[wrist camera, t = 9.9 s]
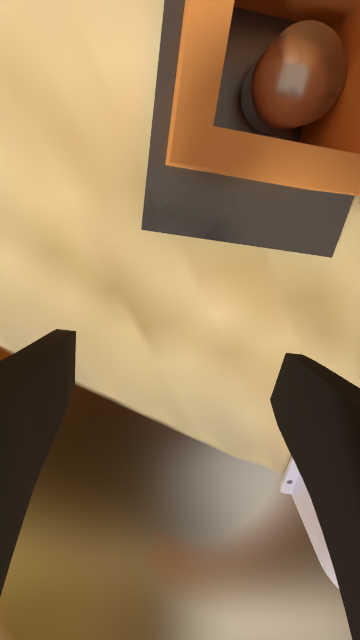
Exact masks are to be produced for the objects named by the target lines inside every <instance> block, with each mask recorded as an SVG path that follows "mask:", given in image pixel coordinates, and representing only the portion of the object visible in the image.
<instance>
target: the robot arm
mask: <svg viewBox="0 0 360 640" xmlns="http://www.w3.org/2000/svg"><path fill="white" fill-rule="evenodd" d="M75 351H76V331H69V330H59V329H56V330H54V331H52V332H50V333H49V334H47V335H45V336H43V337H42V338H40V339H38V340H37V341H35V342H33V343H32V344H30V345H28V346H27V347H25V348H23V349H21V350H20V351H18V352H16V353H14V354H13V355H11V356H9V357H7V358H5V359H3V360H1V361H0V596H1V592H2V589H3V586H4V582H5V579H6V575H7V572H8V569H9V565H10V562H11V559H12V555H13V552H14V549H15V545H16V542H17V539H18V536H19V533H20V530H21V526H22V523H23V519H24V517H25V514H26V511H27V507H28V505H29V501H30V498H31V495H32V492H33V489H34V486H35V483H36V481H37V478H38V476H39V473H40V471H41V468H42V466H43V464H44V462H45V459H46V457H47V455H48V453H49V450H50V448H51V446H52V444H53V441H54V439H55V437H56V434H57V432H58V430H59V427H60V425H61V423H62V421H63V418H64V416H65V414H66V411H67V409H68V405H69V402H70V399H71V395H72V391H73V388H74V384H75ZM270 401H271V404H272V408H273V412H274V415H275V418H276V421H277V425H278V427H279V429H280V432H281V434H282V436H283V438H284V440H285V443H286V445H287V447H288V449H289V451H290V453H291V456H292V457H291V459H290V462H289V464H288V467H287V469H286V472H285V474H284V476H283V479H282V482H281V484H280V486H279V488H280V491H281V492H282V493H284V494H292V497H293V499H294V502H295V504H296V506H297V509H298V511H299V513H300V516H301V518H302V521H303V523H304V525H305V528H306V530H307V533H308V535H309V537H310V539H311V542H312V544H313V547H314V549H315V552H316V554H317V556H318V559H319V561H320V563H321V565H322V567H323V569H324V571H325V572H326V574H327V575H328V577H329V578H330V579H331V581H332V582H333V583H334V584H335V585H336V586H337V587H338V588H339V590H340V593H341V596H342V600H343V604H344V607H345V611H346V615H347V619H348V623H349V627H350V632H351V636H352V640H360V388H359V387H357V386H355V385H354V384H352V383H350V382H349V381H347V380H345V379H344V378H342V377H341V376H339V375H337V374H336V373H334V372H333V371H331V370H329V369H328V368H326V367H324V366H323V365H321V364H319V363H318V362H316V361H314V360H312V359H310V358H308V357H306V356H304V355H301V354H291V353H286V354H285V357H284V360H283V363H282V366H281V369H280V372H279V375H278V378H277V381H276V384H275V387H274V390H273V393H272V396H271V399H270Z"/></svg>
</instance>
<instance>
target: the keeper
mask: <svg viewBox="0 0 360 640" xmlns="http://www.w3.org/2000/svg"><path fill="white" fill-rule="evenodd" d="M184 7H185V0H165V3H164V13H163V22H162V32H161V42H160V52H159V62H158V71H157V81H156V91H155V101H154V111H153V120H152V130H151V140H150V150H149V160H148V169H147V179H146V189H145V199H144V209H143V219H142V228H141V230H147V231H154V232H161V233H168V234H175V235H181V236H188V237H195V238H202V239H209V240H216V241H222V242H229V243H236V244H243V245H250V246H257V247H264V248H270V249H277V250H284V251H291V252H298V253H305V254H311V255H318V256H325V257H332V256H333V253H334V251H335V248H336V245H337V242H338V239H339V237H340V234H341V231H342V228H343V225H344V222H345V220H346V217H347V214H348V211H349V208H350V206H351V203H352V200H353V197H354V195H348V194H339V193H331V192H323V191H314V190H307V189H301V188H295V187H289V186H284V185H278V184H272V183H266V182H261V181H255V180H249V179H243V178H238V177H232V176H226V175H220V174H215V173H209V172H203V171H197V170H192V169H186V168H180V167H174V166H168V165H165V163H166V154H167V146H168V138H169V130H170V122H171V114H172V105H173V97H174V89H175V81H176V73H177V64H178V56H179V48H180V40H181V32H182V24H183V15H184ZM345 73H346V57H345V51H344V48H343V45H342V42H341V40H340V38H339V37H338V35H337V34H336V32H335V31H334V30H333V29H332V28H331V27H329V26H328V25H326V24H324V23H322V22H319V21H315V20H305V21H301V22H295V21H291V20H287V19H283V18H279V17H275V16H271V15H267V14H263V13H258V12H254V11H250V10H246V9H242V8H238V7H234V6H233V12H232V18H231V24H230V30H229V36H228V42H227V48H226V53H225V59H224V65H223V71H222V77H221V83H220V89H219V95H218V100H217V106H216V112H215V118H214V124H213V126H216V127H221V128H226V129H231V130H236V131H242V132H247V133H252V134H257V135H262V136H268V137H273V138H278V139H283V140H288V141H294V142H299V140H300V137H301V133H302V129H303V126H304V125H305V124H308V123H311V122H313V121H315V120H317V119H319V118H320V117H322V116H323V115H324V114H325V113H326V112H327V111H328V110H329V109H330V108H331V107H332V105H333V104H334V103H335V101H336V99H337V98H338V96H339V94H340V92H341V89H342V86H343V83H344V79H345Z"/></svg>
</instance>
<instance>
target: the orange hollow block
mask: <svg viewBox="0 0 360 640" xmlns="http://www.w3.org/2000/svg"><path fill="white" fill-rule="evenodd" d="M233 6H234V7H238V8H242V9H246V10H250V11H254V12H258V13H263V14H267V15H271V16H275V17H279V18H283V19H287V20H291V21H295V22H301V21H305V20H315V21H319V22H322V23H324V24H326V25H328V26H329V27H331V28H332V29H333V30H334V31H335V32H336V34H337V35H338V37H339V38H340V40H341V42H342V45H343V48H344V51H345V57H346V73H345V79H344V83H343V86H342V89H341V92H340V94H339V96H338V98H337V99H336V101H335V103H334V104H333V105H332V107H331V108H330V109H329V110H328V111H327V112H326V113H325V114H324V115H323V116H322V117H320V118H319V119H317V120H315V121H313V122H311V123H308V124H305V125H304V126H303V129H302V133H301V137H300V140H299V142H294V141H288V140H283V139H278V138H273V137H268V136H262V135H257V134H252V133H247V132H242V131H236V130H231V129H226V128H221V127H216V126H213V124H214V118H215V112H216V106H217V100H218V95H219V89H220V83H221V77H222V71H223V65H224V59H225V53H226V48H227V42H228V36H229V30H230V24H231V18H232V12H233ZM165 165H168V166H174V167H180V168H186V169H192V170H197V171H203V172H209V173H215V174H220V175H226V176H232V177H238V178H243V179H249V180H255V181H261V182H266V183H272V184H278V185H284V186H289V187H295V188H301V189H307V190H314V191H323V192H331V193H339V194H348V195H356V196H360V0H185V7H184V15H183V24H182V32H181V40H180V48H179V56H178V64H177V73H176V81H175V89H174V97H173V105H172V114H171V122H170V130H169V138H168V146H167V154H166V163H165Z"/></svg>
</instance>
